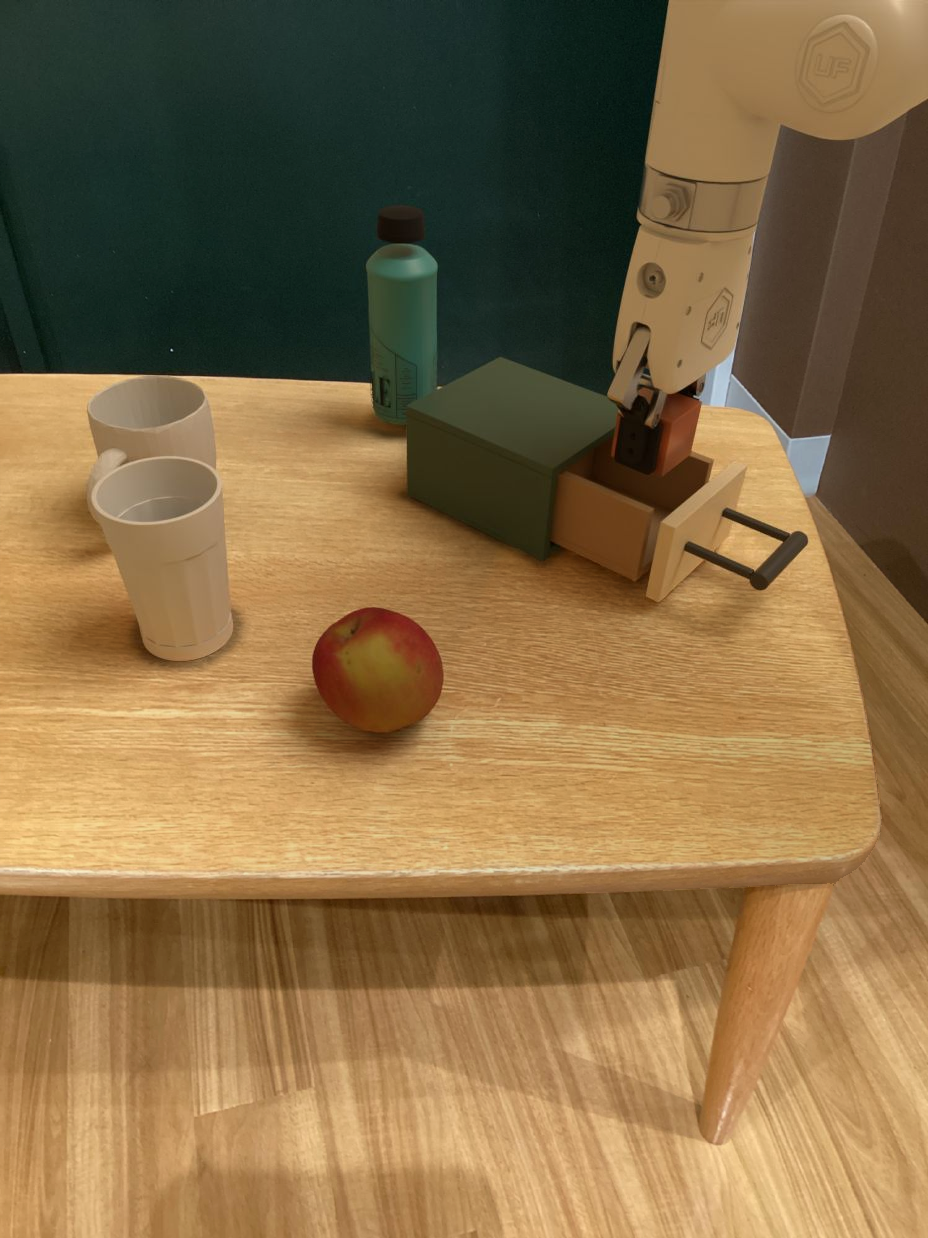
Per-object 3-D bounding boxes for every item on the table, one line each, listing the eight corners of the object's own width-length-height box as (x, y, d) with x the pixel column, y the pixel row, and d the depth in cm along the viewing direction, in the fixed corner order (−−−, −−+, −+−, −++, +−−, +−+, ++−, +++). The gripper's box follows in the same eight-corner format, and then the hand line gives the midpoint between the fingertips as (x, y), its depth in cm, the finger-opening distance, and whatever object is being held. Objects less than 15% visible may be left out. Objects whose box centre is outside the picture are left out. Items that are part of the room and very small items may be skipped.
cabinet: (625, 497, 81) (641, 409, 76) (542, 562, 74) (552, 468, 68) (495, 441, 88) (500, 356, 82) (406, 495, 80) (405, 405, 75)
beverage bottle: (450, 419, 91) (455, 206, 78) (412, 447, 87) (411, 227, 74) (396, 401, 94) (392, 192, 81) (356, 427, 89) (346, 211, 76)
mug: (156, 472, 82) (133, 366, 75) (244, 493, 80) (229, 386, 73) (61, 550, 73) (26, 438, 66) (159, 577, 71) (132, 463, 64)
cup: (263, 607, 68) (243, 467, 60) (212, 679, 62) (183, 534, 55) (166, 587, 70) (134, 447, 62) (108, 655, 64) (64, 510, 56)
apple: (388, 657, 65) (385, 566, 59) (464, 722, 60) (468, 630, 55) (296, 707, 61) (285, 614, 56) (371, 781, 56) (366, 687, 51)
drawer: (806, 570, 72) (831, 496, 68) (740, 642, 66) (763, 566, 61) (591, 477, 82) (601, 408, 77) (514, 533, 75) (520, 460, 71)
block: (690, 454, 70) (702, 401, 67) (661, 477, 67) (672, 423, 64) (640, 434, 72) (650, 382, 69) (610, 456, 69) (618, 402, 66)
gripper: (687, 245, 51) (636, 520, 63) (812, 183, 61) (747, 429, 73) (574, 214, 54) (546, 480, 66) (710, 160, 64) (664, 399, 76)
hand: (652, 451), depth 69 cm, fingers closed on block, 4 cm apart
